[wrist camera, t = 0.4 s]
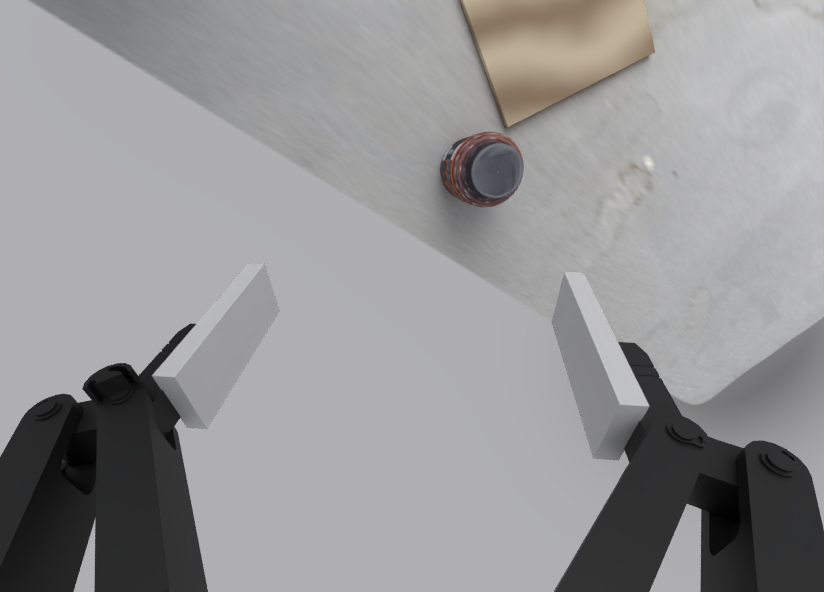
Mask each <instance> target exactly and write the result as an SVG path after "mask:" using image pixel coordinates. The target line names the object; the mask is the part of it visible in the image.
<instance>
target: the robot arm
mask: <svg viewBox="0 0 824 592" xmlns="http://www.w3.org/2000/svg"><path fill="white" fill-rule="evenodd" d="M279 311H280V310H279V307H278V304H277V301H276V298H275V295H274V292H273V289H272V285H271V282H270V279H269V276H268V273H267V270H266V267H265V264H251V263H249V264H248V265H247V266H246V267H245V268H244V269H243V270H242V272H241V273H240V274H239V275H238V276H237V277H236V279H235V280H234V281H233V282H232V283H231V284H230V286H229V287H228V288H227V289H226V290H225V291H224V293H223V294H222V295H221V296H220V297H219V298H218V299H217V301H216V302H215V303H214V304H213V305H212V307H211V308H210V309H209V310H208V311H207V312H206V313H205V315H204V316H203V317H202V318H201V319H200V320H199V322H198V323H197V324H189V325H188V326H186V327H185V328H183V329H182V330H180V331H179V332H178V333H177V334H176V335H175V336H174V337H173V338H172V339H171V340H170V342H169V344H167V345H166V346H165V347H164V348H163V349H162V352H160V353H159V354H158V355H157V356H156V357H155V358H154V359H153V360H152V362H151V363H150V364H149V365H148V366H147V367H146V368H145V369H144V371H143V372H142V373H141V374H140V375H139V376H138V375H137V374H136V372H135V371H134V370H133V368H132V367H131V365H128V364H126V363H118V364H114V365H110V366H107V367H105V368H103V369H101V370H99V371H97V372H96V373H94V374H93V375H92V376H90V377H89V378H88V380H87V381H86V382H85V383H84V386H83V390H84V391H85V392H86V394H87V395H88V396H89V397H90V398H91V399H92V400H91V401H86V402H80V403H77V402H76V400H75V399H74V398H73V397H72V396H71V395H68V394H59V395H55V396H52V397H49V398H46V399H44V400H42V401H40V402H39V403H37V404H36V405H34V406H33V407H32V408H31V409H29V410H28V411H27V413H26V414H25V415H24V417H23V418H22V419H21V421H20V423H19V425H18V427H17V428H16V430H15V432H14V434H13V435H12V437H11V439H10V441H9V442H8V444H7V446H6V448H5V450H4V452H3V453H2V455H1V457H0V592H73V591H74V588H75V584H76V581H77V577H78V574H79V571H80V567H81V564H82V560H83V557H84V554H85V550H86V547H87V544H88V540H89V537H90V534H91V530H92V527H93V523H94V520H95V517H96V529H95V530H96V531H95V534H96V535H95V537H96V538H95V592H208V590H207V585H206V579H205V575H204V569H203V564H202V558H201V553H200V548H199V542H198V537H197V532H196V526H195V521H194V516H193V510H192V505H191V500H190V495H189V489H188V484H187V479H186V473H185V468H184V463H183V459H182V452H181V447H180V442H179V437H178V432H177V430H176V428H175V427H174V426H175V424H176V423H177V422H178V420H179V419H180V418H181V419H182V421H183V422H184V424H185V425H186V427H187V428H199V429H208V427H209V425H210V424H211V422H212V420H213V419H214V417H215V416H216V414H217V412H218V411H219V409H220V407H221V406H222V404H223V403H224V401H225V399H226V398H227V396H228V394H229V393H230V391H231V390H232V388H233V386H234V385H235V383H236V381H237V380H238V378H239V376H240V375H241V373H242V372H243V370H244V368H245V367H246V365H247V363H248V362H249V360H250V359H251V357H252V355H253V353H254V352H255V350H256V349H257V347H258V345H259V344H260V342H261V340H262V339H263V337H264V336H265V334H266V333H267V331H268V329H269V327H270V326H271V324H272V323H273V321H274V319H275V318H276V316H277V314H278V313H279ZM552 325H553V328H554V332H555V335H556V338H557V341H558V345H559V348H560V351H561V354H562V358H563V361H564V364H565V367H566V370H567V374H568V377H569V380H570V384H571V387H572V390H573V393H574V397H575V400H576V403H577V406H578V410H579V413H580V416H581V419H582V423H583V426H584V429H585V432H586V436H587V439H588V442H589V445H590V449H591V452H592V455H593V458H595V459H609V460H619V459H620V457H621V455H622V453H623V452H624V450H625V452H626V455H627V457H628V460H629V465H628V466H627V468H626V469H625V471H624V473H623V474H622V476H621V478H620V480H619V482H618V483H617V485H616V487H615V488H614V490H613V492H612V493H611V495H610V497H609V498H608V500H607V502H606V504H605V505H604V507H603V509H602V510H601V512H600V514H599V515H598V517H597V519H596V521H595V522H594V524H593V526H592V528H591V529H590V531H589V533H588V534H587V536H586V538H585V539H584V541H583V543H582V544H581V546H580V548H579V550H578V551H577V553H576V555H575V556H574V558H573V560H572V562H571V563H570V565H569V567H568V568H567V570H566V572H565V573H564V575H563V577H562V579H561V580H560V582H559V584H558V585H557V587H556V589H555V590H554V592H649V591H650V589H651V586H652V584H653V582H654V579H655V577H656V575H657V572H658V570H659V568H660V565H661V563H662V560H663V558H664V556H665V553H666V551H667V549H668V546H669V544H670V542H671V539H672V537H673V535H674V532H675V530H676V528H677V525H678V523H679V520H680V518H681V516H682V513H683V511H684V509H685V506H686V504H689V505H692V506H695V507H698V508H700V509H702V511H701V513H702V514H701V592H824V530H823V526H822V521H821V516H820V512H819V507H818V503H817V499H816V494H815V490H814V485H813V481H812V477H811V475H810V473H809V471H808V469H807V467H806V466H805V465H804V464H803V463H802V461H801V460H800V459H799V458H798V457H796V456H795V455H793V454H792V453H791V452H789V451H788V450H787V449H784V448H782V447H780V446H778V445H776V444H774V443H770V442H766V441H752V442H751V443H749V444H748V445H746V447H745V448H741V447H738V446H735V445H731V444H728V443H725V442H722V441H719V440H716V439H713V438H710V437H708V436H707V434H706V433H705V432H704V431H703V429H702V428H701V427H700V426H699V425H697V424H696V423H694V422H693V421H691V420H690V419H688V418H685V417H683V416H682V415H681V413H680V412H679V410H678V408H677V406H676V405H675V403H674V401H673V399H672V397H671V395H670V394H669V392H668V390H667V388H666V387H665V385H664V383H663V381H662V379H661V378H659V374H658V372H657V371H656V369H655V368H654V365H653V364H652V362H651V360H650V358H649V356H648V355H647V353H646V352H644V351H643V350H642V349H641V348H640V347H639V346H638V345H637V344H635V343H624V342H618V341H617V339H616V337H615V335H614V333H613V331H612V329H611V327H610V325H609V323H608V321H607V319H606V317H605V315H604V313H603V311H602V309H601V307H600V305H599V303H598V301H597V299H596V297H595V295H594V293H593V291H592V289H591V287H590V285H589V283H588V281H587V278H586V276H585V274H584V273H579V272H564V276H563V280H562V284H561V288H560V292H559V295H558V299H557V303H556V307H555V311H554V315H553V319H552Z"/></svg>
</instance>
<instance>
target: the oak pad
mask: <svg viewBox="0 0 824 592" xmlns="http://www.w3.org/2000/svg"><path fill="white" fill-rule="evenodd" d="M460 2H461V5H462V8H463V10H464V13H465V16H466V19H467V22H468V24H469V27H470V30H471V33H472V36H473V38H474V41H475V44H476V47H477V49H478V52H479V55H480V58H481V61H482V63H483V66H484V69H485V72H486V75H487V77H488V80H489V83H490V86H491V88H492V91H493V94H494V97H495V100H496V102H497V105H498V108H499V111H500V114H501V116H502V119H503V122H504V125H505V128H507V127H509V126H511V125H513V124H515V123H517V122H519V121H521V120H523V119H525V118H527V117H529V116H531V115H533V114H535V113H537V112H539V111H541V110H543V109H545V108H547V107H548V106H550V105H552V104H554V103H556V102H558V101H560V100H562V99H564V98H566V97H568V96H570V95H572V94H574V93H576V92H578V91H580V90H582V89H584V88H586V87H588V86H590V85H592V84H594V83H596V82H597V81H599V80H601V79H603V78H605V77H607V76H609V75H611V74H613V73H615V72H617V71H619V70H621V69H623V68H625V67H627V66H629V65H631V64H633V63H635V62H637V61H639V60H641V59H643V58H645V57H647V56H648V55H650V54H652V53H654V52H655V49H654V44H653V40H652V35H651V30H650V26H649V21H648V16H647V12H646V7H645V2H644V0H460Z"/></svg>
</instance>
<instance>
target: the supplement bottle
mask: <svg viewBox="0 0 824 592" xmlns="http://www.w3.org/2000/svg"><path fill="white" fill-rule="evenodd" d="M440 172H441V178H442V181H443V184H444V186H445V187H446V189H447V190H448V191H449V192H450V193H451V194H452V195H454V196H455V197H457V198H459V199H461V200H463V201H465V202H467V203H469V204H472V205H475V206H478V207H492V206H496V205H499V204H501V203H503V202H504V201H506V200H507V199H509V198H510V197H511V196H512V195H513V194H514V192H515V191H516V190H517V188H518V187H519V185H520V182H521V179H522V176H523V158H522V155H521V152H520V150H519V148H518V147H517V145H516V144H515V143H514V142H513V141H512V140H511V139H510V138H508V137H507V136H505V135H503V134H500V133H496V132H484V133H479V134H476V135H473V136H470V137H467V138H464V139H462V140H459V141H457V142H456V143H454V144H453V145H452V146H451V147H450V148H449V149H448V150H447V151H446V153H445V155H444V156H443V159H442V162H441V168H440Z"/></svg>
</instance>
